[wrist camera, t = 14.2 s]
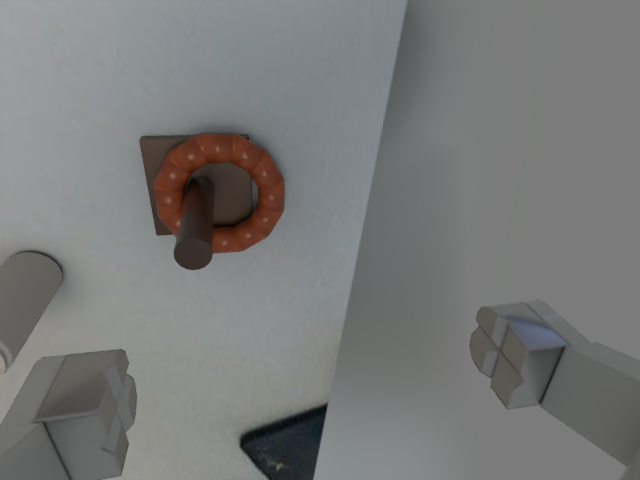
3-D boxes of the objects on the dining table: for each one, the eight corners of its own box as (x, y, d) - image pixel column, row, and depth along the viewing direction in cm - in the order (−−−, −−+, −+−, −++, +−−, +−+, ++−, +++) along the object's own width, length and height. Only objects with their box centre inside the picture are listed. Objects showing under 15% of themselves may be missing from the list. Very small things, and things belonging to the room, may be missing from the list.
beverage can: (72, 261, 38) (17, 350, 28) (54, 299, 40) (-5, 396, 29) (15, 240, 36) (-67, 328, 26) (-2, 281, 38) (-87, 378, 27)
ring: (282, 130, 35) (286, 136, 33) (282, 241, 41) (285, 253, 39) (147, 130, 33) (142, 137, 31) (165, 248, 38) (162, 261, 36)
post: (248, 134, 36) (260, 185, 25) (252, 224, 40) (265, 303, 29) (141, 136, 34) (102, 193, 23) (158, 230, 39) (132, 316, 27)
